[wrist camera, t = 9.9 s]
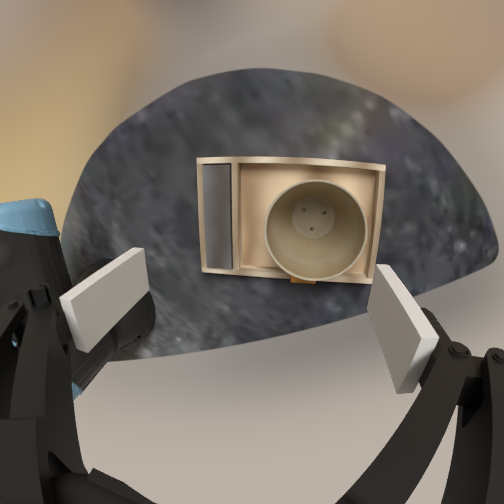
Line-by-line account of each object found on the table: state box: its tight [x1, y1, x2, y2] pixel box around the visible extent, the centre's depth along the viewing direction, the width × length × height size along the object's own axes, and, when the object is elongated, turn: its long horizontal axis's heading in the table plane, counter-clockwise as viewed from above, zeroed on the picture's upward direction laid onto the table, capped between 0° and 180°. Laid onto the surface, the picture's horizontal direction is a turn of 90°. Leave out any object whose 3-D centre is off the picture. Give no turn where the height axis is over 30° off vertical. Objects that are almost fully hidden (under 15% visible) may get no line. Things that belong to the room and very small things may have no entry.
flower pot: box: [264, 179, 368, 281], centre depth 29 cm, size 10×10×7 cm
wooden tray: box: [197, 157, 386, 284], centre depth 32 cm, size 22×14×3 cm
